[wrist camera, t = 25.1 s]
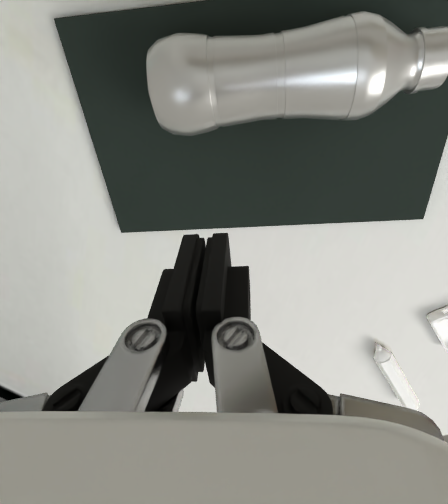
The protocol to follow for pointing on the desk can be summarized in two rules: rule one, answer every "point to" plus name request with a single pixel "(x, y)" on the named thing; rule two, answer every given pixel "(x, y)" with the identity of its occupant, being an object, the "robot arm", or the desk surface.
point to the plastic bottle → (291, 72)
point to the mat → (250, 128)
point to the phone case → (440, 325)
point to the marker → (395, 377)
